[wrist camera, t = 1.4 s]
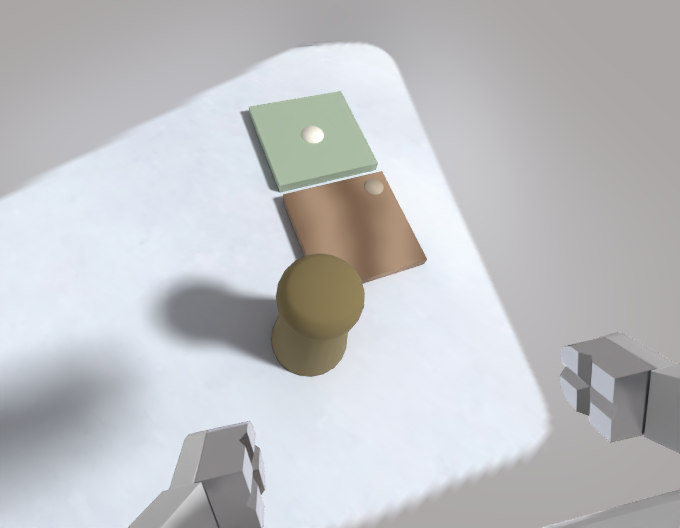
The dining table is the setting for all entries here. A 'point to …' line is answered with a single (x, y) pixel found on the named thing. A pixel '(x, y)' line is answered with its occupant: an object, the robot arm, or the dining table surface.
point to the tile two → (355, 225)
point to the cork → (316, 313)
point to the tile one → (311, 140)
